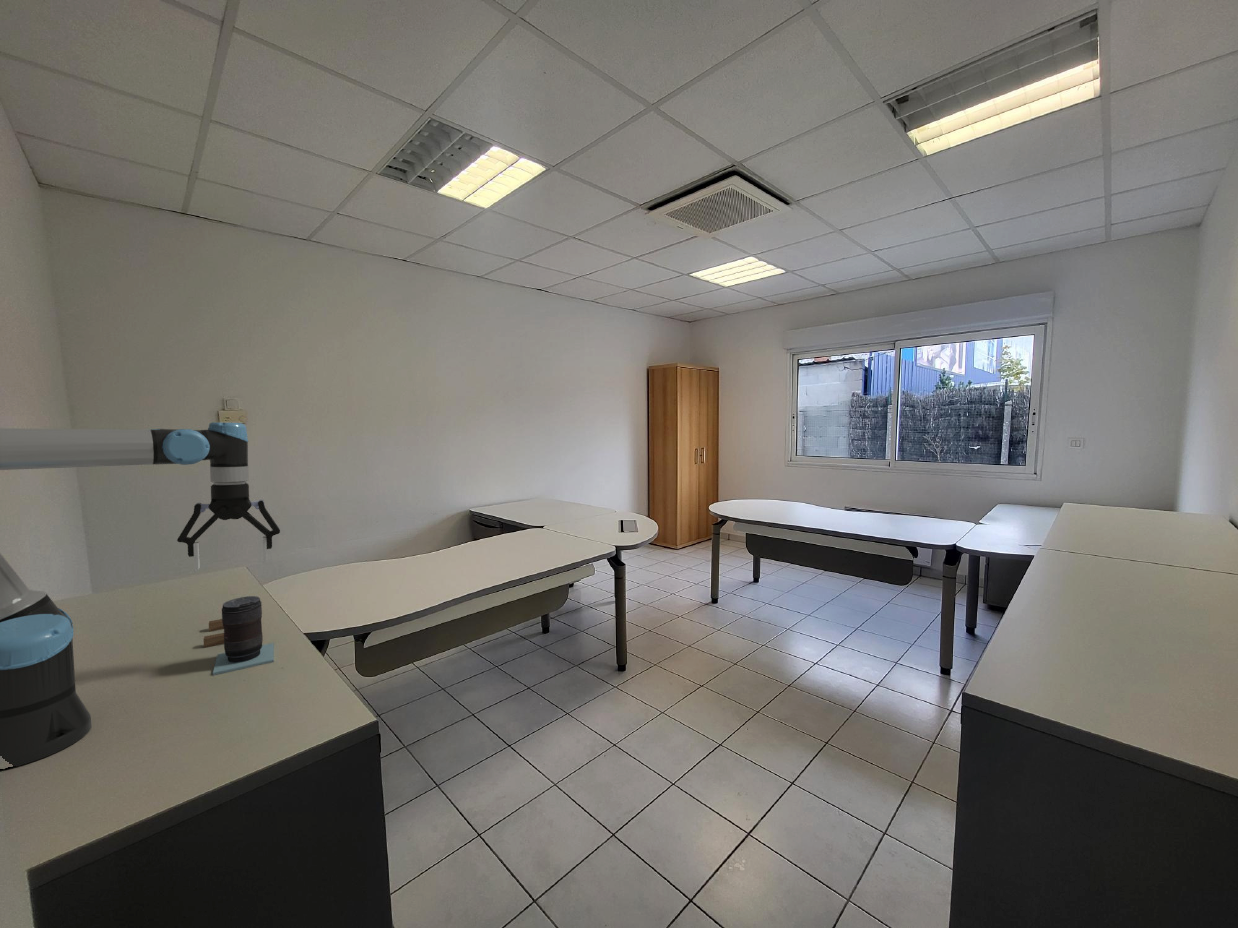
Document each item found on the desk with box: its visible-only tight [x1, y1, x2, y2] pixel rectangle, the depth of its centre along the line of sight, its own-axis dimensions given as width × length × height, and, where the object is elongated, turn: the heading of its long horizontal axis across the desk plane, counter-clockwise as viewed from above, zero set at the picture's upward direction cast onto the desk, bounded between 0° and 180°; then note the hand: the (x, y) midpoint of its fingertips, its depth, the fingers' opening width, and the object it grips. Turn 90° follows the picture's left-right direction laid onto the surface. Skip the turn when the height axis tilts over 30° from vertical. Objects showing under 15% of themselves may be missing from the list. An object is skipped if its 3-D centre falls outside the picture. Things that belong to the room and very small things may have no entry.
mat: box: [212, 642, 275, 676], centre depth 124 cm, size 12×12×1 cm
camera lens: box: [221, 595, 264, 663], centre depth 123 cm, size 8×8×15 cm
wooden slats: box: [203, 618, 224, 649], centre depth 139 cm, size 15×11×4 cm
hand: (232, 565), depth 122 cm, fingers open, 13 cm apart
